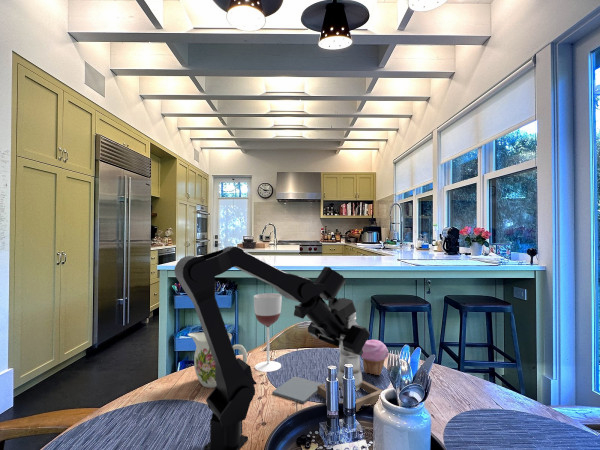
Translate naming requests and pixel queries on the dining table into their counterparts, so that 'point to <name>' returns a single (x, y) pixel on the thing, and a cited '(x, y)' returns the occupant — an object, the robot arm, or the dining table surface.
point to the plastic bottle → (349, 357)
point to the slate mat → (297, 389)
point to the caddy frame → (367, 399)
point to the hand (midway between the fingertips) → (353, 350)
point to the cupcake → (374, 356)
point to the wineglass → (267, 322)
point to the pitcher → (208, 359)
